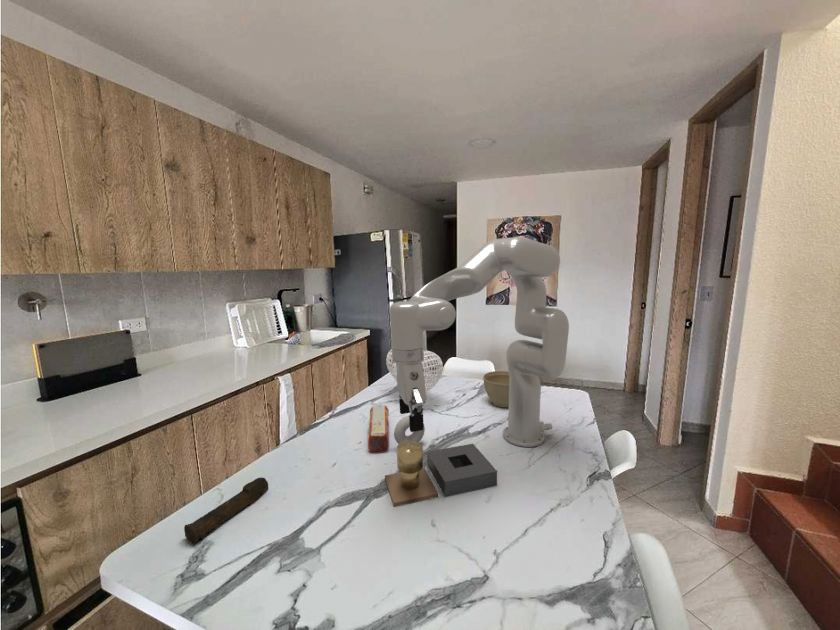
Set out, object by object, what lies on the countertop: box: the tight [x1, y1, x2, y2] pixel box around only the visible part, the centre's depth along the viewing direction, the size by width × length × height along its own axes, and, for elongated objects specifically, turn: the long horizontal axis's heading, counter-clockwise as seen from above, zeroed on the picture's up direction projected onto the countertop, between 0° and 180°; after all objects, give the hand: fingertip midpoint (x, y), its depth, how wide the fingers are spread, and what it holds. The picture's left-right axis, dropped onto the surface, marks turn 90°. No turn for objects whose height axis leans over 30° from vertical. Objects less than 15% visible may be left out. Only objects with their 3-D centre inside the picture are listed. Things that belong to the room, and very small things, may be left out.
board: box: [384, 467, 439, 508], centre depth 87 cm, size 11×11×1 cm
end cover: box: [396, 441, 424, 490], centre depth 86 cm, size 6×6×10 cm
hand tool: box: [183, 476, 269, 545], centre depth 78 cm, size 19×4×5 cm, turn 150°
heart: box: [385, 348, 444, 402], centre depth 140 cm, size 28×16×22 cm, turn 36°
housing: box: [426, 443, 498, 498], centre depth 92 cm, size 14×14×4 cm
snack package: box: [367, 404, 390, 454], centre depth 113 cm, size 21×7×7 cm, turn 6°
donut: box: [393, 415, 426, 445], centre depth 106 cm, size 10×4×10 cm, turn 116°
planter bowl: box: [482, 370, 509, 408], centre depth 137 cm, size 16×16×11 cm
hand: (411, 421), depth 85 cm, fingers open, 9 cm apart
